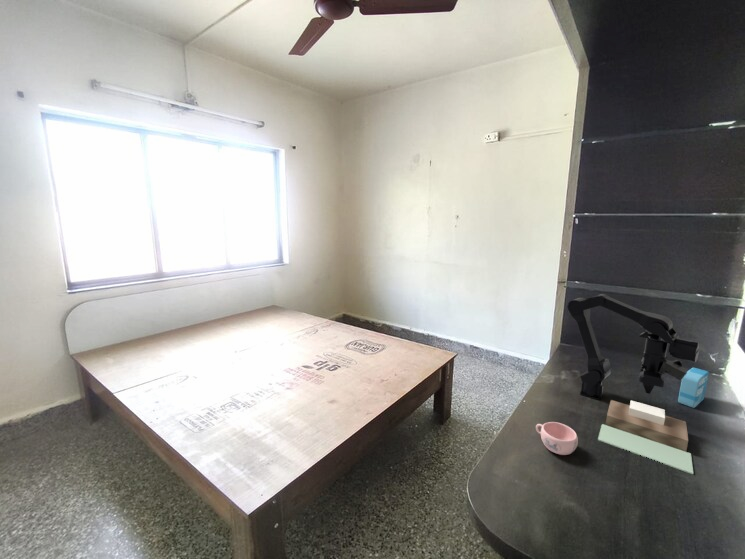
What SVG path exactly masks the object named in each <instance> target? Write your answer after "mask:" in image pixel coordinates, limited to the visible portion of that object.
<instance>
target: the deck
mask: <svg viewBox="0 0 745 559" xmlns="http://www.w3.org/2000/svg"><path fill="white" fill-rule="evenodd" d="M629 408H630V404H626V403H623V402H619V401H616V400H613V399H610V402H609V406H608V410H607V414H606V420H605V425H607V426H610V427H613V428H616V429H619V430H622V431H625V432H628V433H631V434H634V435H637V436H640V437H643V438H646V439H649V440H652V441H655V442H658V443H661V444H664V445H667V446H670V447H673V448H676V449H679V450H682V451H685V452H687V451H688V450H687V449H688V445H689V444H688V443H689V435H688V429H687V421H685V420H682V419H677V418H674V417H671V416H667V415H665V421H664V425H661V424H658V423H655V422H651V421H648V420H645V419H641V418H638V417H635V416H632V415H628V414H629Z"/></svg>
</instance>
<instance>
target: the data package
mask: <svg viewBox="0 0 745 559" xmlns="http://www.w3.org/2000/svg"><path fill="white" fill-rule="evenodd" d="M709 375H710V372H709V371H707V370H704V369H700V368H698V367H692V368H690V369H689V370H687V374H686V375H685V376H684V377H683V378H682V380H681V383H680V387H679V391H678V392H679V394H678V399H677V401H678V404H681V405H683V406H684V405H685V406H687V407H690V408H693V409H694V408H696V407H697V406H698V405H699V404H700V403H702V402H703V400H704V399H705V396H706V391H707V386H708V381H709Z"/></svg>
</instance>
